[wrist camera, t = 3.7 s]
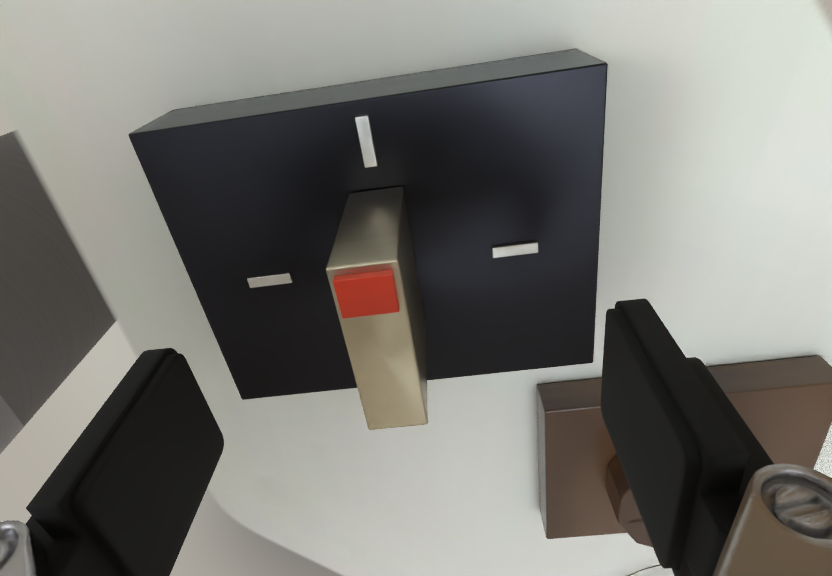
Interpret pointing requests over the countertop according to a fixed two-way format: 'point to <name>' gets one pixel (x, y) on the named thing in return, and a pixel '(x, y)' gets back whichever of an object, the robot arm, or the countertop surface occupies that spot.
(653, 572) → the cylinder with rectangular tab
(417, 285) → the knob
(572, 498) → the brown button base
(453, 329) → the panel
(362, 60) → the countertop surface
